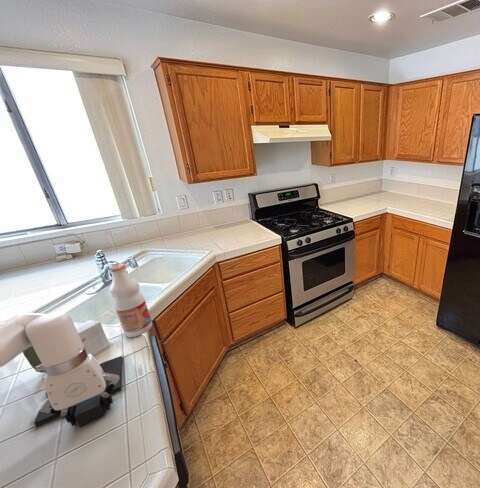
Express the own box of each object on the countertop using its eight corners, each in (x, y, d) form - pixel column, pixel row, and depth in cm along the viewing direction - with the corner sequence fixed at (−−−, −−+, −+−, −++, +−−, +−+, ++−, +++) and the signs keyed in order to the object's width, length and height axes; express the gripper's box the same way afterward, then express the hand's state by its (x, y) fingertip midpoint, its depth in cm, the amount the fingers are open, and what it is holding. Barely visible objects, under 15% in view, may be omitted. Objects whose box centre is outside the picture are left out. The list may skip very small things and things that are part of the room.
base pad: (36, 427, 68) (33, 423, 67) (51, 386, 80) (49, 382, 80) (121, 390, 77) (119, 386, 77) (123, 358, 90) (121, 355, 89)
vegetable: (36, 380, 83) (6, 328, 76) (36, 373, 86) (7, 322, 79) (55, 372, 86) (28, 320, 79) (54, 365, 89) (28, 315, 82)
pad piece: (79, 427, 67) (73, 416, 66) (82, 413, 71) (77, 402, 70) (104, 416, 70) (99, 405, 68) (105, 403, 74) (100, 392, 72)
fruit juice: (122, 331, 105) (98, 267, 95) (148, 320, 111) (128, 259, 102) (129, 341, 99) (103, 274, 89) (156, 328, 105) (135, 264, 96)
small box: (101, 342, 99) (91, 318, 95) (110, 345, 97) (100, 321, 93) (75, 357, 92) (64, 332, 88) (85, 361, 90) (73, 335, 86)
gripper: (10, 389, 57) (44, 446, 63) (109, 353, 66) (131, 405, 72) (21, 368, 63) (52, 422, 68) (111, 337, 72) (131, 387, 78)
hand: (92, 413), depth 70 cm, fingers open, 6 cm apart
